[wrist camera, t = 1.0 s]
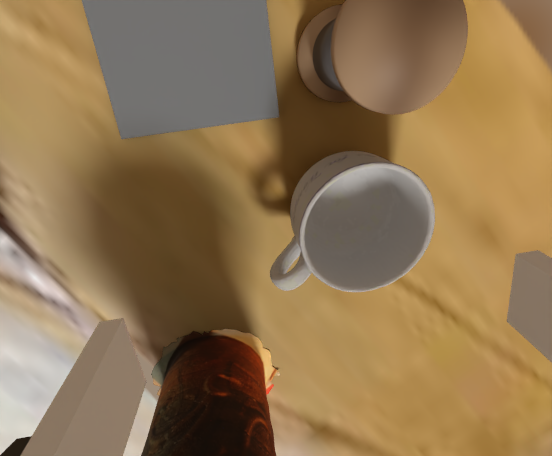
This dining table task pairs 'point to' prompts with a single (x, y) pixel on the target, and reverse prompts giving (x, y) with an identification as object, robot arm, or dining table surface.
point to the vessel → (212, 397)
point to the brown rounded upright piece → (383, 52)
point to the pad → (184, 62)
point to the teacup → (356, 224)
